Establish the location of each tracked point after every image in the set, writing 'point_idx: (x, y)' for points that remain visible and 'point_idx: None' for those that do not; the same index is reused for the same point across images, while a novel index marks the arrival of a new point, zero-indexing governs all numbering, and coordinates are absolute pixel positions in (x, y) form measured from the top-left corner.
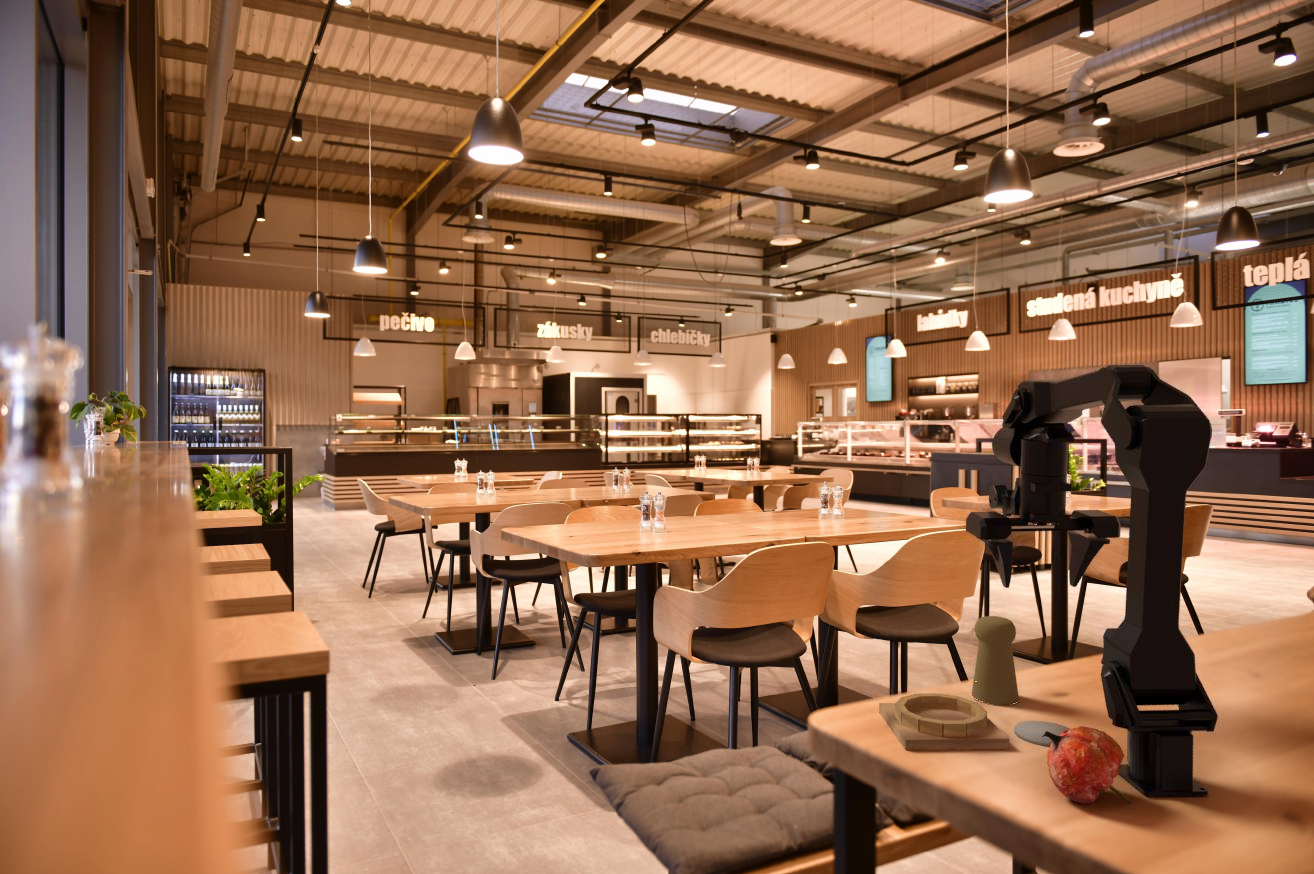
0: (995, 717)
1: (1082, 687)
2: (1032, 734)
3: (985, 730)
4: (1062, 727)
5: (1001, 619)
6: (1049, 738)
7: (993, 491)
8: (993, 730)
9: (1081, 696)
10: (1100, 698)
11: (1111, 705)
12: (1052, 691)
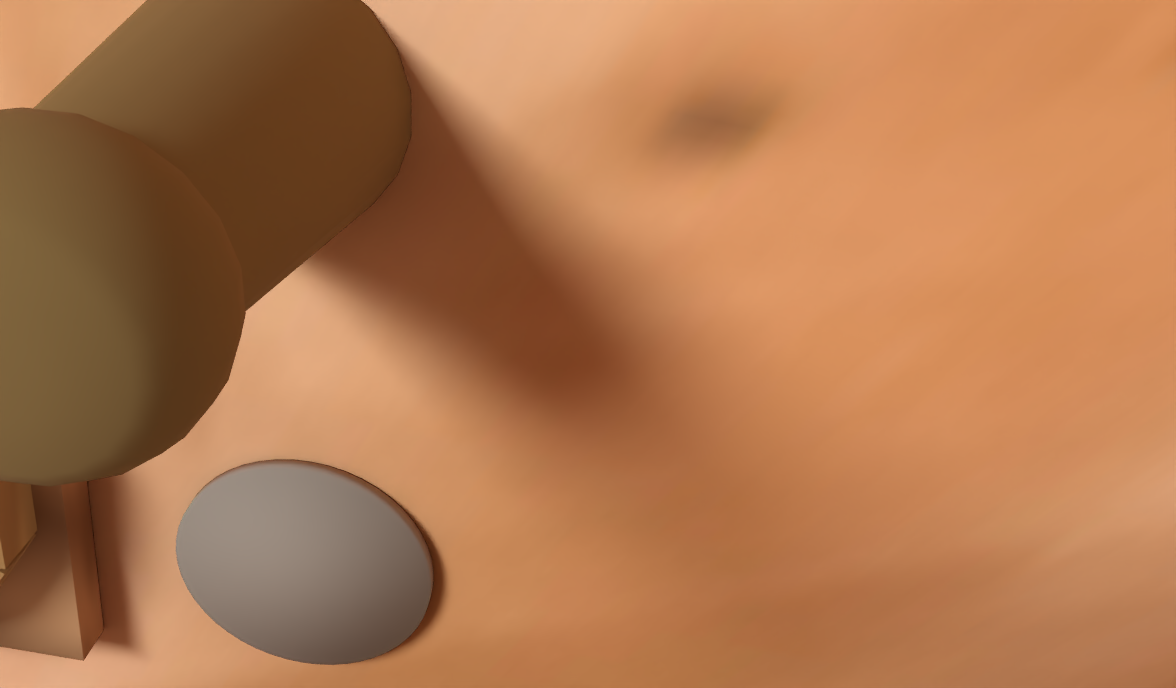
0: None
1: (964, 32)
2: (234, 581)
3: (9, 585)
4: (401, 553)
5: (23, 430)
6: (285, 623)
7: None
8: (44, 591)
9: (820, 185)
10: (906, 237)
11: None
12: (703, 64)
